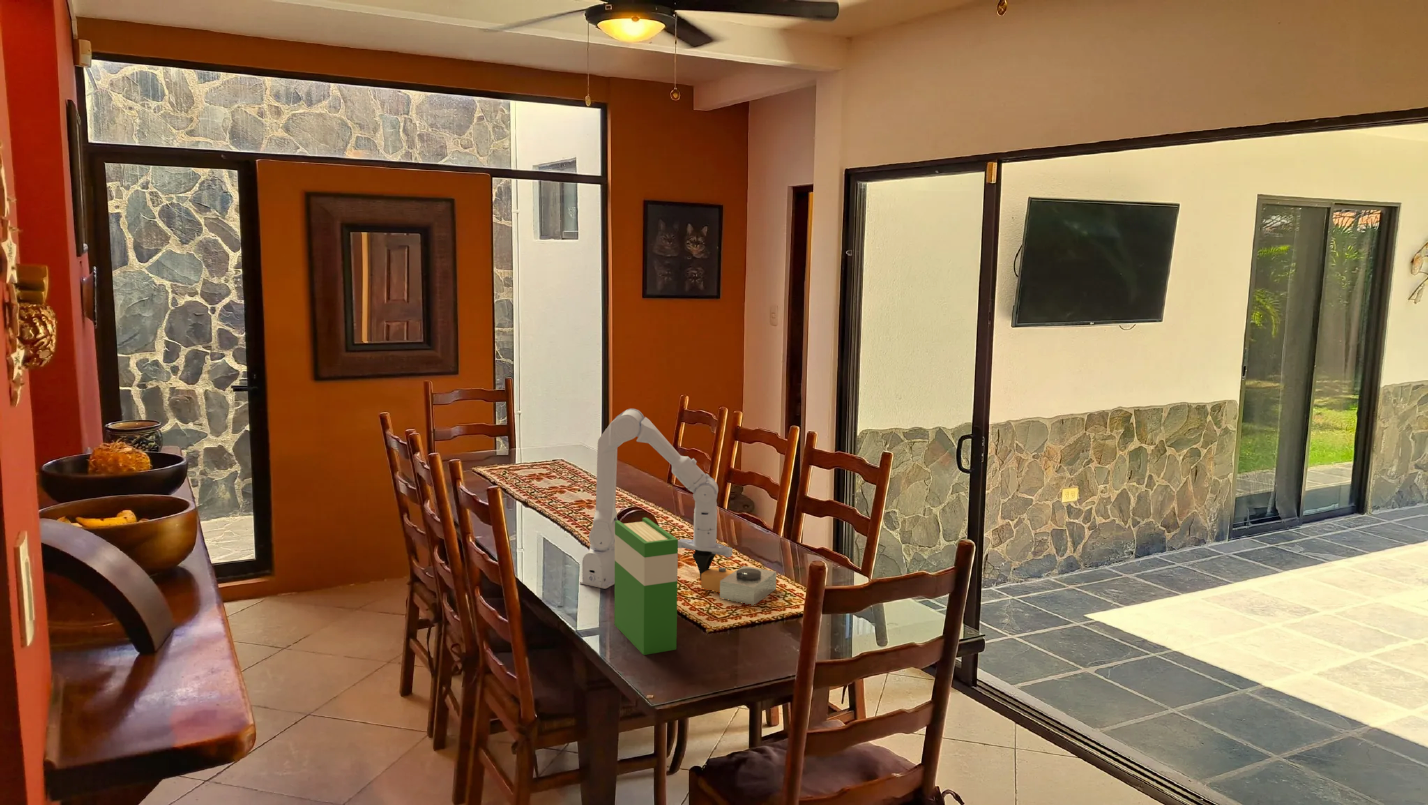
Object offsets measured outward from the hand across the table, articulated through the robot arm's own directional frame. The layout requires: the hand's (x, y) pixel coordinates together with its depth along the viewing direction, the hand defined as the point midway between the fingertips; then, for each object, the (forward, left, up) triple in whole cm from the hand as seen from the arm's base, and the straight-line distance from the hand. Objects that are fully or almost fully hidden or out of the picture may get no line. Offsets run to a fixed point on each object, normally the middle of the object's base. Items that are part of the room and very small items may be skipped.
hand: (703, 579), depth 242 cm
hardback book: (-35, -4, -2) cm, 35 cm away
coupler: (0, -9, -1) cm, 9 cm away
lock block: (0, -4, -1) cm, 5 cm away
